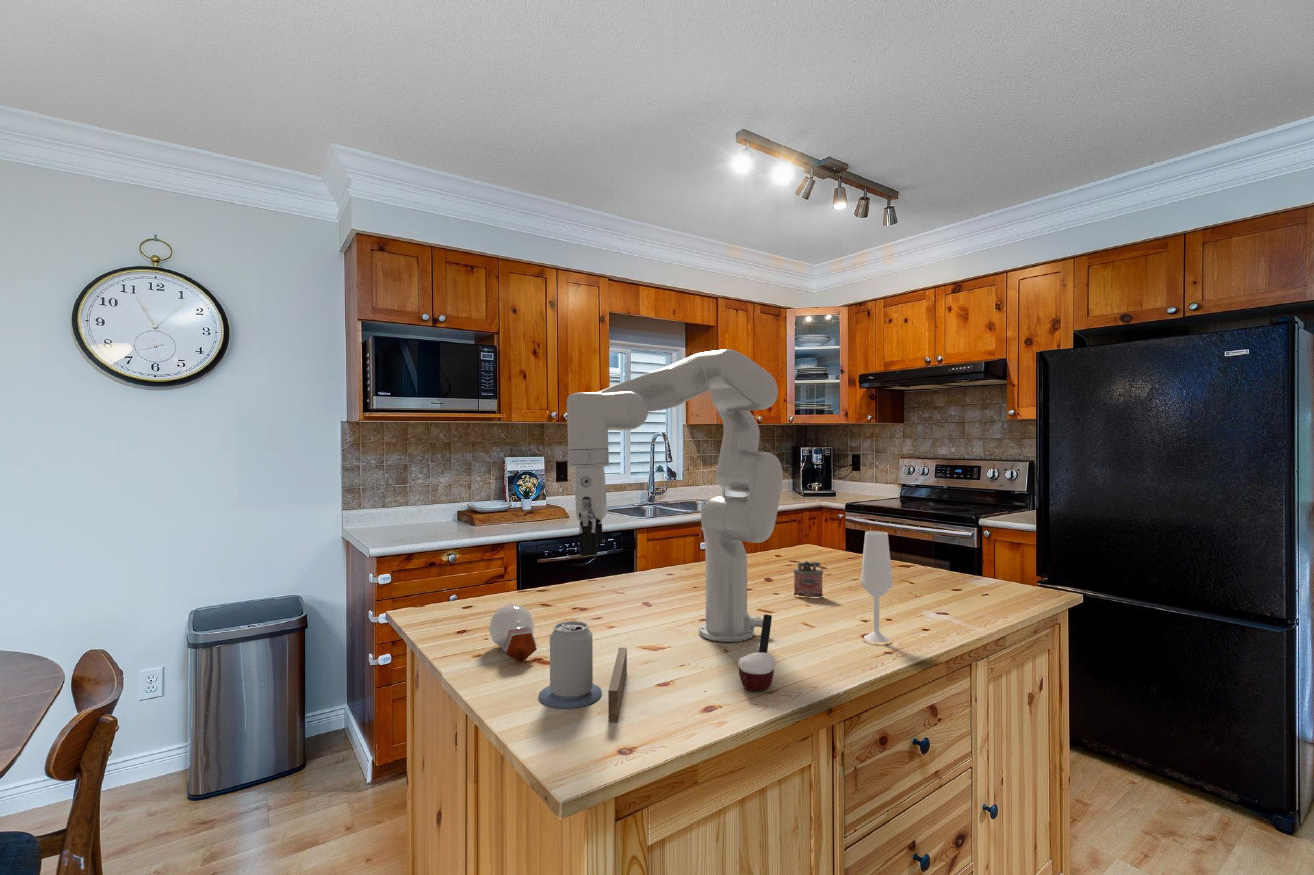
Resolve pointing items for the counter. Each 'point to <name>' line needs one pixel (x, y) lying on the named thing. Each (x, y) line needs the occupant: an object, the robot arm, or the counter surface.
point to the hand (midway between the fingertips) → (591, 549)
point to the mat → (555, 702)
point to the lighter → (808, 580)
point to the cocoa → (758, 663)
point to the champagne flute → (876, 574)
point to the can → (571, 660)
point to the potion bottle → (513, 631)
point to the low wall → (617, 685)
